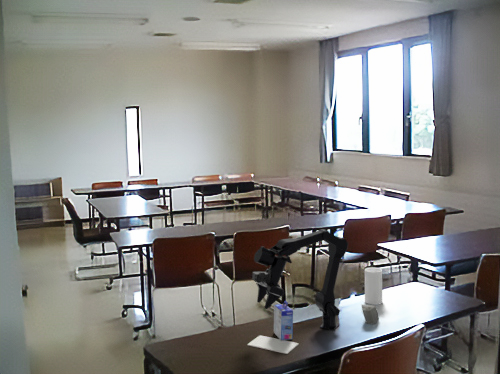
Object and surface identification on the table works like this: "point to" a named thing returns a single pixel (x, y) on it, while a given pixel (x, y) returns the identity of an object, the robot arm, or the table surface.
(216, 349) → the table surface
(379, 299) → the cup
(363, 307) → the mineral specimen
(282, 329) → the ink cartridge box
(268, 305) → the robot arm
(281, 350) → the mat
